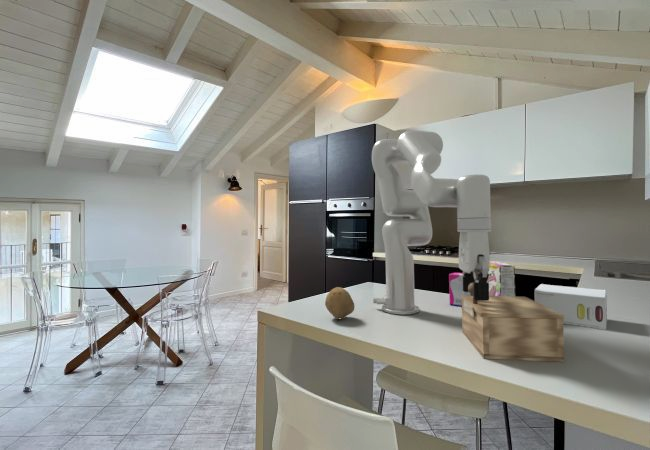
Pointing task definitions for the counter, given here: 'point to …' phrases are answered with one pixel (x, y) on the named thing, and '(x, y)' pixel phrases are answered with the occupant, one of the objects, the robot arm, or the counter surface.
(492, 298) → the wooden box lid
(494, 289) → the candy bar box
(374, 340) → the counter surface
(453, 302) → the supplement box
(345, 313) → the brown potato
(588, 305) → the supplement box
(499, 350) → the wooden box
